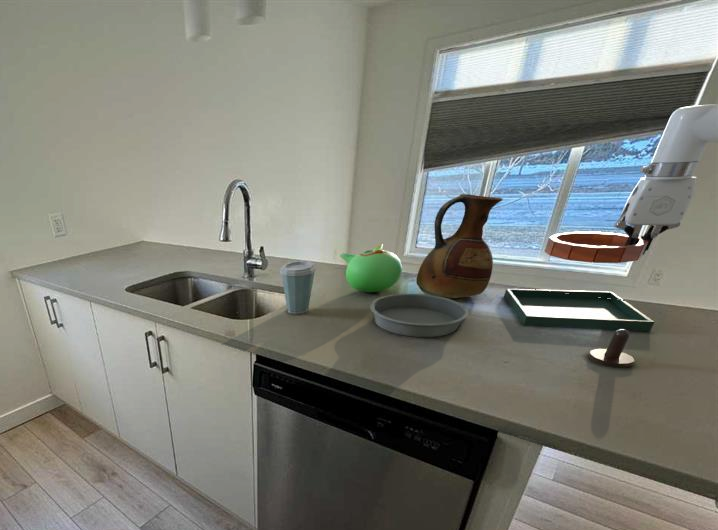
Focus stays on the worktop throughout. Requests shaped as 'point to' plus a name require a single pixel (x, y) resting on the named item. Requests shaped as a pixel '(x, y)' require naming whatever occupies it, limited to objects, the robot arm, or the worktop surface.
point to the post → (614, 352)
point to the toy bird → (372, 269)
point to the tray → (576, 310)
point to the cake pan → (418, 314)
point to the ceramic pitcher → (459, 253)
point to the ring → (594, 247)
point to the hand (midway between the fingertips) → (633, 253)
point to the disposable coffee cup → (298, 285)
